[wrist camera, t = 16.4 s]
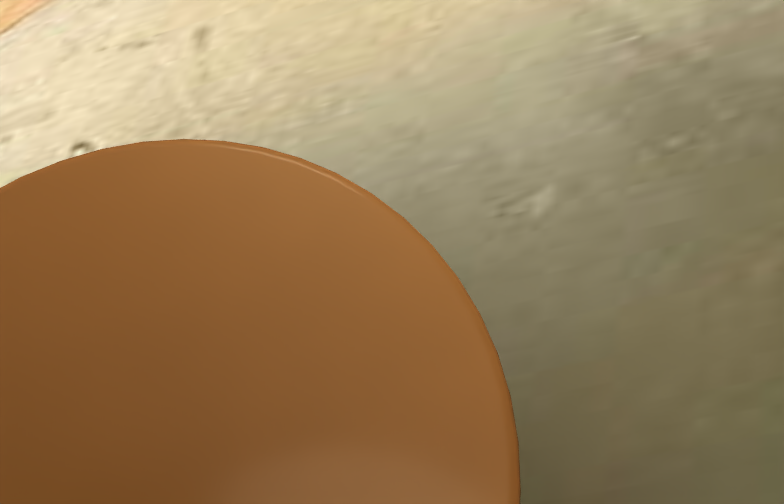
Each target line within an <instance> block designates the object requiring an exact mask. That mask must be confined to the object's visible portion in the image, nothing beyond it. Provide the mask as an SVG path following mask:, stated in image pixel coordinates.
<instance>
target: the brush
mask: <svg viewBox="0 0 784 504" xmlns="http://www.w3.org/2000/svg"><path fill="white" fill-rule="evenodd" d="M520 494H521V488H520V465H519V443H518V437H517V431H516V425H515V419H514V413H513V407H512V401H511V396H510V393H509V389H508V386H507V383H506V379H505V376H504V373H503V369H502V366H501V363H500V359H499V356H498V353H497V351H496V348H495V346H494V344H493V342H492V339H491V337H490V335H489V333H488V330H487V328H486V326H485V324H484V322H483V319H482V317H481V315H480V313H479V311H478V310H477V308H476V306H475V305H474V303H473V301H472V300H471V298H470V296H469V295H468V293H467V291H466V290H465V288H464V286H463V285H462V283H461V282H460V280H459V278H458V277H457V276H456V274H455V273H454V272H453V271H452V269H451V268H450V267H449V266H448V264H447V263H446V262H445V261H444V259H443V258H442V257H441V256H440V254H439V253H438V252H437V250H436V249H435V248H434V247H433V246H432V245H431V244H430V243H429V242H428V241H427V240H426V239H425V238H424V237H423V236H422V235H421V234H420V233H419V232H418V231H417V230H416V229H415V228H414V227H413V226H412V225H411V224H410V223H409V222H408V221H407V220H406V219H405V218H404V217H402V216H401V215H400V214H398V213H397V212H396V211H394V210H393V209H392V208H390V207H389V206H388V205H386V204H385V203H384V202H382V201H381V200H380V199H378V198H377V197H376V196H374V195H373V194H372V193H370V192H368V191H367V190H365V189H363V188H361V187H360V186H358V185H356V184H354V183H353V182H351V181H349V180H347V179H346V178H344V177H342V176H340V175H339V174H337V173H335V172H332V171H330V170H328V169H325V168H323V167H320V166H318V165H316V164H313V163H311V162H309V161H306V160H304V159H301V158H298V157H295V156H291V155H288V154H284V153H281V152H277V151H274V150H270V149H267V148H263V147H258V146H252V145H245V144H239V143H233V142H227V141H213V140H191V139H178V140H163V141H148V142H139V143H134V144H128V145H122V146H117V147H111V148H105V149H101V150H97V151H94V152H90V153H87V154H83V155H80V156H76V157H73V158H69V159H66V160H62V161H60V162H57V163H55V164H52V165H50V166H47V167H45V168H42V169H40V170H37V171H35V172H32V173H30V174H27V175H25V176H23V177H20V178H18V179H17V180H15V181H13V182H11V183H9V184H7V185H5V186H3V187H1V188H0V504H520Z"/></svg>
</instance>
